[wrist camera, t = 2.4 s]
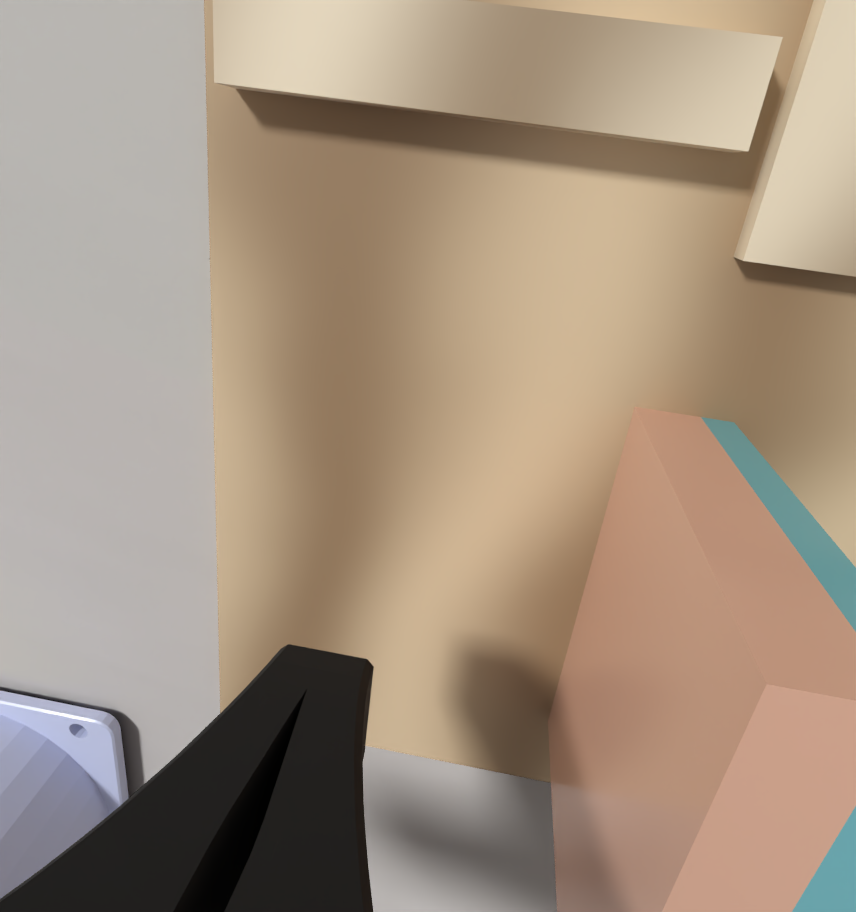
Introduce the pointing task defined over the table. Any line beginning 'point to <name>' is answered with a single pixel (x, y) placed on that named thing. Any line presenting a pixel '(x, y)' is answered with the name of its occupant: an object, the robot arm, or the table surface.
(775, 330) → the cork mat
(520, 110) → the wooden turner
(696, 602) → the tile
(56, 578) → the table surface
